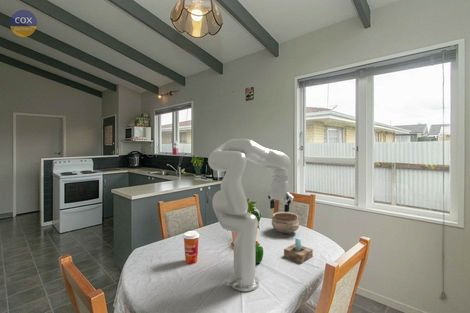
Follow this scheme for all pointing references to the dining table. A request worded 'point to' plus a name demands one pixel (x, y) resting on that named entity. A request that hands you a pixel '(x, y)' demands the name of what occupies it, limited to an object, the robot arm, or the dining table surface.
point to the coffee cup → (191, 246)
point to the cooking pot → (285, 222)
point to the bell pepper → (258, 253)
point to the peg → (298, 244)
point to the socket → (298, 253)
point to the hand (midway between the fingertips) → (279, 210)
